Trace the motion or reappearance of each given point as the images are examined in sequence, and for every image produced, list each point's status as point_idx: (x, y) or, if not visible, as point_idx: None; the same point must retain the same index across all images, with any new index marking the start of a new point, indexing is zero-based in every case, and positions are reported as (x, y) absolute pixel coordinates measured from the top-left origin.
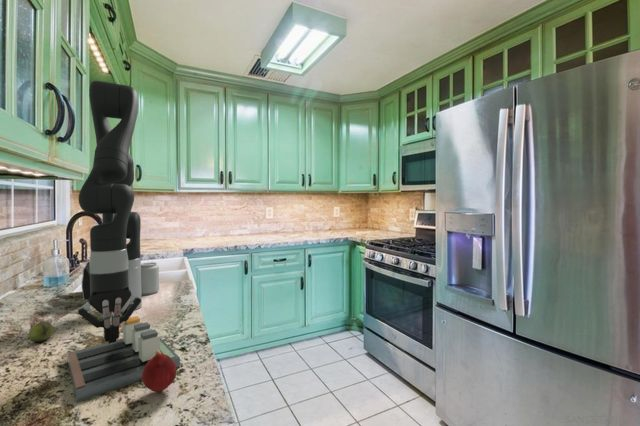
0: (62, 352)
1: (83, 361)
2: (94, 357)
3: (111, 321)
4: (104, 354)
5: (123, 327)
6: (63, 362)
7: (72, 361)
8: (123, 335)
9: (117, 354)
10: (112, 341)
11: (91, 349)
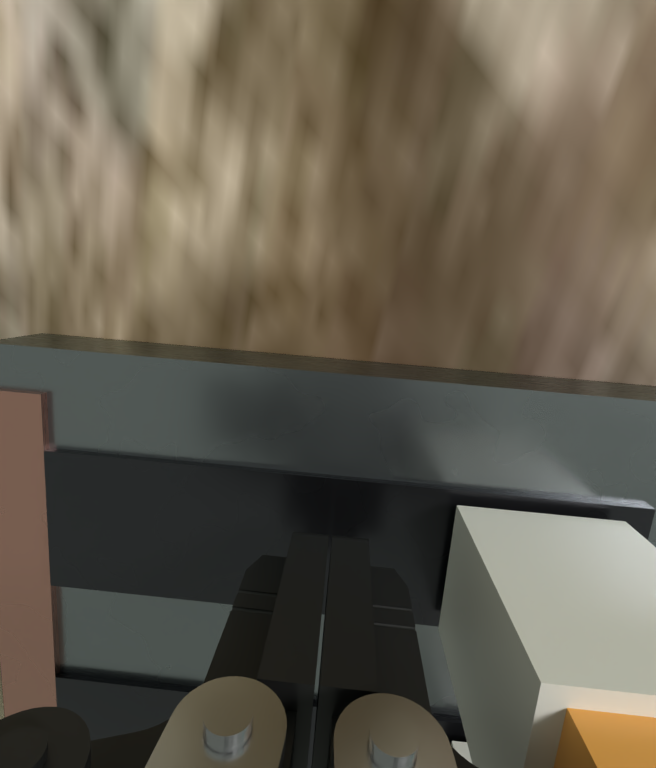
0: (6, 38)
1: (91, 639)
2: (169, 632)
3: (331, 763)
4: None
5: (503, 652)
6: (15, 316)
7: (12, 599)
8: (470, 551)
9: None
10: (323, 627)
11: (174, 428)
